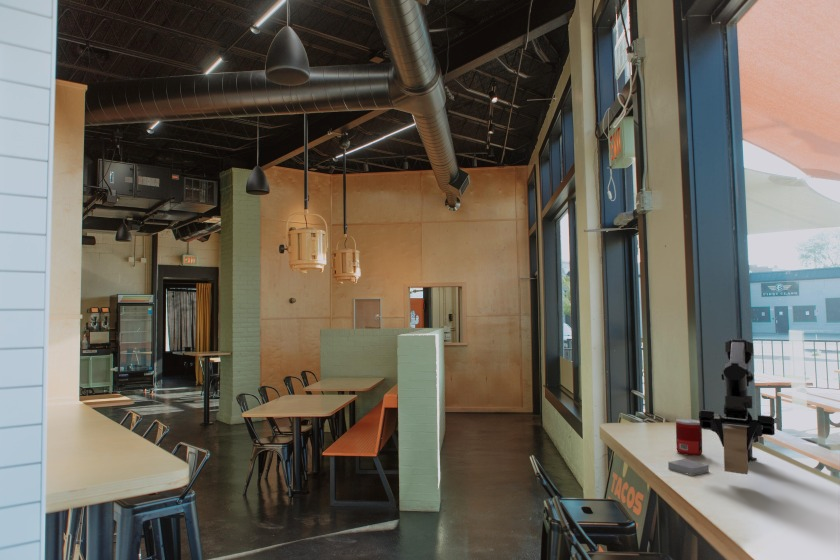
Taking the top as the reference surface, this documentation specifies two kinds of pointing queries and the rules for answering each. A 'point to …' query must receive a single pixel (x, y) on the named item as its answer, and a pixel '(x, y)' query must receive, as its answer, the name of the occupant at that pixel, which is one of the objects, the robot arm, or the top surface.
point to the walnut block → (735, 449)
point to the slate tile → (688, 466)
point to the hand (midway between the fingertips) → (735, 447)
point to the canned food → (688, 437)
